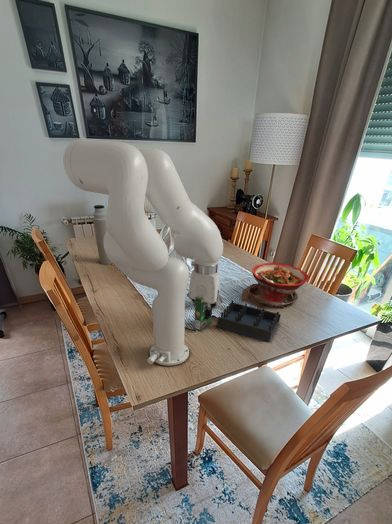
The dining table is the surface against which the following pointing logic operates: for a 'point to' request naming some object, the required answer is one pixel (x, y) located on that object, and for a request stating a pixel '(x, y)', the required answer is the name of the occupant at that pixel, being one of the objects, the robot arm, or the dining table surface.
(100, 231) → the thermos bottle
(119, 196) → the robot arm
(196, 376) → the dining table surface
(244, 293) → the stew
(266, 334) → the rack
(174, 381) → the dining table surface
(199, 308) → the coffee box
